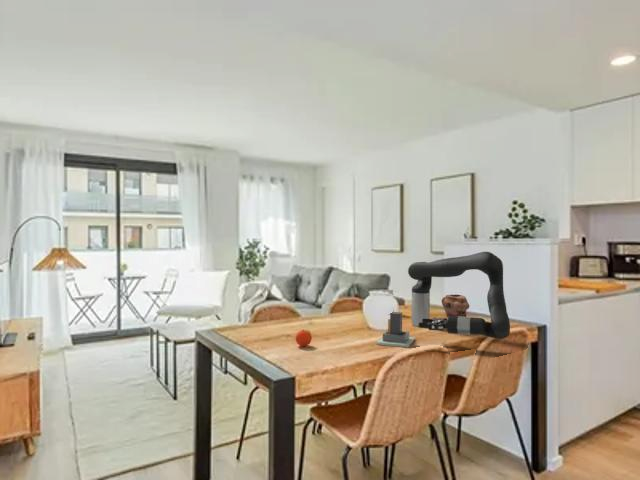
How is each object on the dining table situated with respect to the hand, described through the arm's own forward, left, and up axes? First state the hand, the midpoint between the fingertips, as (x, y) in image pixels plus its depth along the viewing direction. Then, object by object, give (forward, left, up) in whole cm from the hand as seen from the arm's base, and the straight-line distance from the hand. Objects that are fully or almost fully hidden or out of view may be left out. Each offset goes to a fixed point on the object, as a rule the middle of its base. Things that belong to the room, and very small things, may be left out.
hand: (420, 323), depth 200 cm
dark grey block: (0, -11, -8) cm, 14 cm away
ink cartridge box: (-67, -32, -10) cm, 74 cm away
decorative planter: (-65, +8, -9) cm, 66 cm away
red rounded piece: (+22, -46, -9) cm, 52 cm away
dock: (0, -11, -9) cm, 14 cm away
